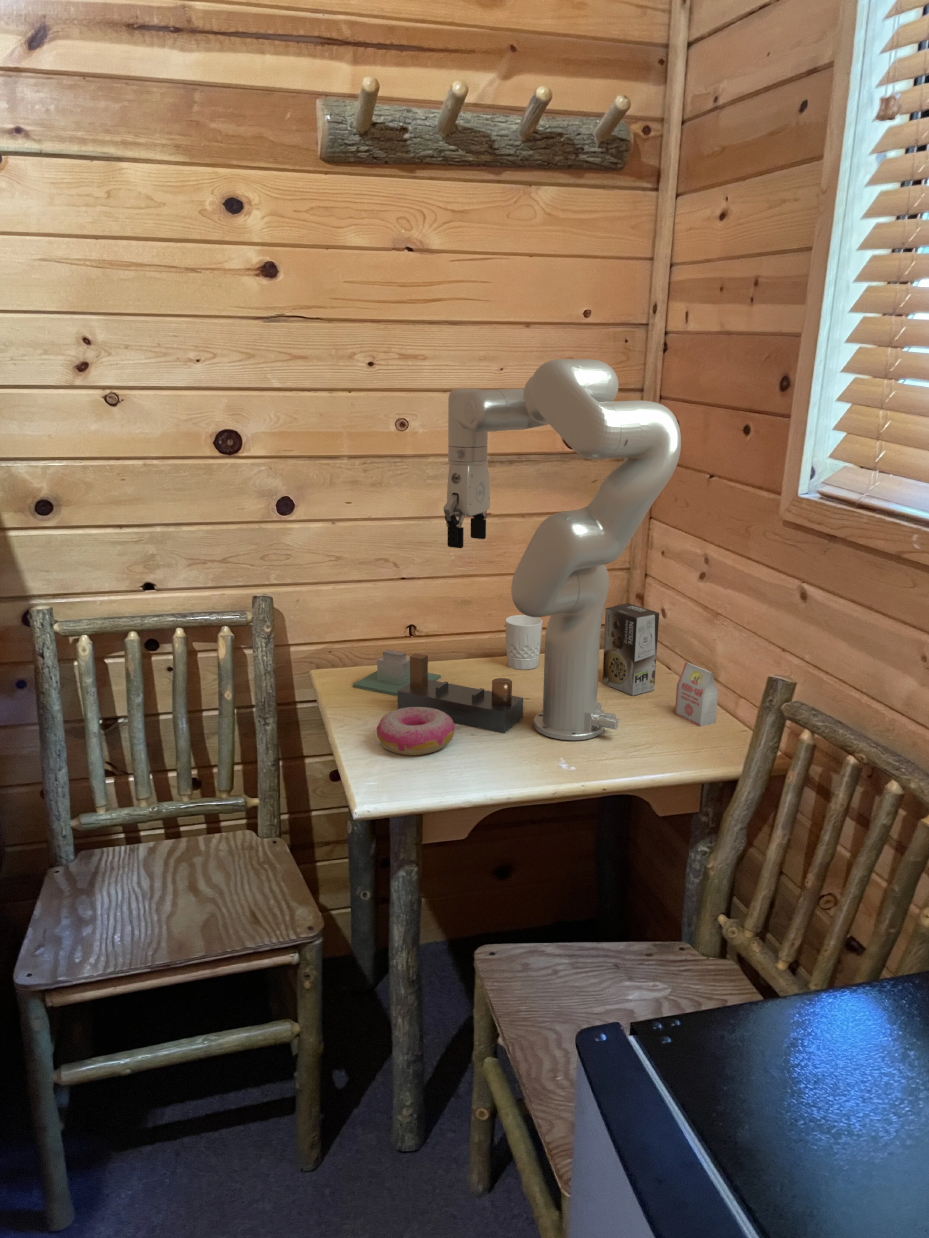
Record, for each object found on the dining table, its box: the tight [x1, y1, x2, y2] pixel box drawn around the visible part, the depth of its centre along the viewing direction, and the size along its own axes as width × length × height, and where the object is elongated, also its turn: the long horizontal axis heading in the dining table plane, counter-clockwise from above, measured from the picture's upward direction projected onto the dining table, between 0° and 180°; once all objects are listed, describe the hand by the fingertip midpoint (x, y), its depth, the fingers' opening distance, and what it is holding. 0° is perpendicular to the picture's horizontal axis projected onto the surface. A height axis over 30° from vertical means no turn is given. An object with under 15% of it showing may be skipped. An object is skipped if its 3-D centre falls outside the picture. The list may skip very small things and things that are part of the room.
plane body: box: [397, 653, 524, 734], centre depth 170 cm, size 22×8×10 cm, turn 63°
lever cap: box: [376, 649, 411, 686], centre depth 186 cm, size 6×5×6 cm
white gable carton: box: [674, 661, 719, 728], centre depth 169 cm, size 4×7×10 cm, turn 29°
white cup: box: [504, 614, 544, 671], centre depth 197 cm, size 8×8×10 cm
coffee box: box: [601, 602, 660, 697], centre depth 183 cm, size 9×6×16 cm
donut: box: [376, 707, 456, 756], centre depth 158 cm, size 14×13×5 cm
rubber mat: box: [352, 670, 442, 697], centre depth 187 cm, size 13×13×1 cm
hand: (467, 542), depth 182 cm, fingers open, 9 cm apart
